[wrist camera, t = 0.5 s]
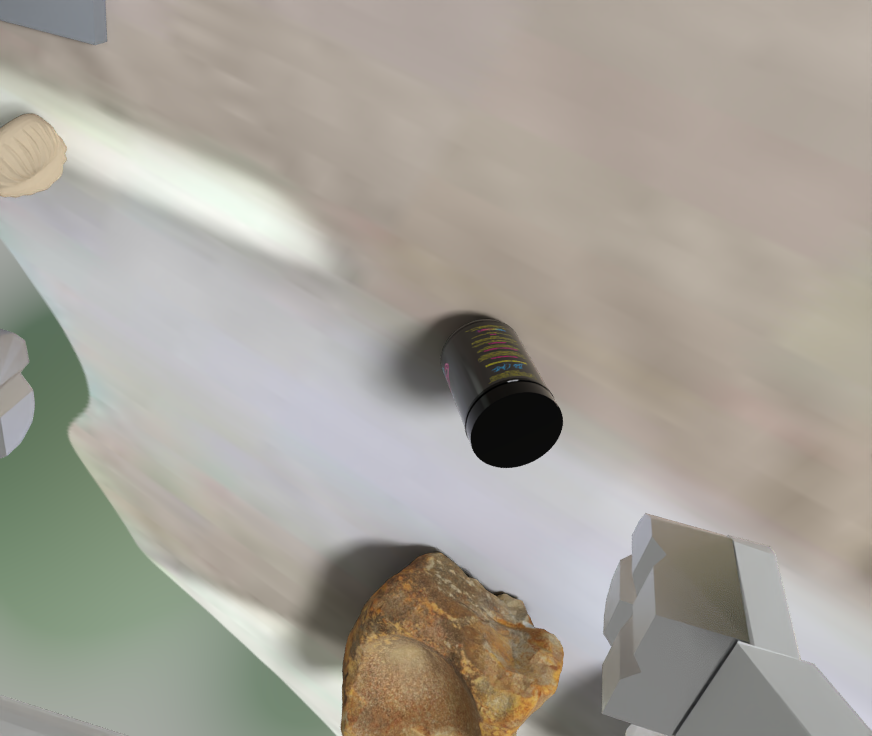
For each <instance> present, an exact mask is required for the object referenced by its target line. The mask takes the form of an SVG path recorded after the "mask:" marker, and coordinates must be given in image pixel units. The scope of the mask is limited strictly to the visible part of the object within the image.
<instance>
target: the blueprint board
mask: <svg viewBox="0 0 872 736" xmlns="http://www.w3.org/2000/svg"><path fill="white" fill-rule="evenodd" d="M0 20H1V21H5V22H9V23H13V24H17V25H21V26H24V27H28V28H32V29H36V30H40V31H43V32H47V33H51V34H55V35H59V36H63V37H66V38H70V39H74V40H78V41H82V42H86V43H89V44H93V45H97V44H101V43H104V42H107V30H106V7H105V0H0Z"/></svg>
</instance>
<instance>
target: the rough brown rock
mask: <svg viewBox="0 0 872 736" xmlns="http://www.w3.org/2000/svg"><path fill="white" fill-rule="evenodd" d="M563 657H564V652H563V647H562V645H561V643H560V641H559V640H558V639H557V638H556V637H555V635H554V634H551V633H549V632H547V631H546V630H544V629H539V628H535V627H534V626H533V623H532V621H531V618H530V617H529V615H528V614H527V611H526V608H525V606H524V604H523V601H521V600H517V599H514V598H512V597H510V596H509V595H507V594H505V593H504V594H501V595H498V596H495V595H493V594H492V593H490V592H489V591H487V590H485V588H484V587H483V585H482V584H481V583H479V581H478V580H476V579H474V578H470V577H468V576H467V575H466V574H465V573H464V572H463V571H462V570H461V569H460V568H459V567H458V566H457V565H456V564H455V563H454V562H453V561H452V560H450V559H449V558H448V557H446V556H445V555H443V554H442V553H427V554H424V555H421V556H419V557H417V558H416V559H415V560H414V561H413V562H412V563H411V564H410V565H408V566H407V567H406V568H404V569H403V570H402V571H401V572H399V573H398V574H396V575H394V576H393V577H391V578H390V579H388V580H387V581H386V582H385V583H384V584H383V585H382V586H381V587H380V588H379V589H378V590H377V591H376V592H375V593H374V594H373V595H372V596H371V598H370V599H369V600H368V601H367V603H366V604H365V605H364V607H363V609H362V611H361V614H360V616H359V618H358V620H357V621H356V623H355V625H354V627H353V629H352V630H351V632H350V634H349V636H348V639H347V643H346V648H345V654H344V660H343V667H342V673H343V684H342V702H343V703H342V720H341V732H342V735H343V736H516V732H517V729H518V728H519V727H520V726H521V725H522V724H523V723H524V722H525V720H526V719H527V718H528V717H529V716H530V715H531V714H532V713H533V712H534V711H536V710H537V709H539V708H540V707H541V706H542V705H543V703H544V702H545V701H546V700H547V699H548V698H550V697H551V696H552V695H553V694H554V693H555V691H556V689H557V686H558V682H559V676H560V673H561V671H562V666H563Z"/></svg>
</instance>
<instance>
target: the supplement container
mask: <svg viewBox="0 0 872 736" xmlns="http://www.w3.org/2000/svg"><path fill="white" fill-rule="evenodd" d="M441 367H442V370H443V373H444V376H445V378H446V381H447V383H448V386H449V388H450V391H451V394H452V396H453V399H454V401H455V404H456V406H457V409H458V412H459V414H460V417H461V419H462V422H463V425H464V427H465V432H466V435H467V437H468V439H469V441H470V444H471V446H472V449H473V451H474V453H475V454H476V456H477V457H478V458H479V459H480V460H482V461H483V462H485V463H486V464H489V465H491V466H495V467H500V468H512V467H518V466H522V465H525V464H528V463H531V462H533V461H535V460H537V459H538V458H540V457H541V456H543V455H544V454H545V453H546V452H548V451H549V450H550V449H551V448H552V446H553V445H554V444H555V443H556V441H557V439H558V438H559V436H560V433H561V430H562V426H563V417H562V413H561V410H560V408H559V406H558V405H557V403H556V401H555V399H554V397H553V395H552V393H551V392H550V390H549V389H548V388H547V386H546V384H545V383H544V381H543V379H542V377H541V376H540V374H539V372H538V370H537V369H536V367H535V365H534V363H533V362H532V360H531V358H530V356H529V355H528V353H527V351H526V349H525V348H524V346H523V344H522V342H521V341H520V339H519V337H518V335H517V334H516V332H515V331H514V330H513V329H512V328H511V327H510V326H508V325H507V324H505V323H502V322H500V321H497V320H492V319H481V320H476V321H472V322H469V323H467V324H465V325H463V326H461V327H460V328H458V329H457V330H456V331H455V332H454V333H453V334H452V335H451V336H450V337H449V338H448V340H447V341H446V343H445V345H444V347H443V350H442V354H441Z"/></svg>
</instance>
